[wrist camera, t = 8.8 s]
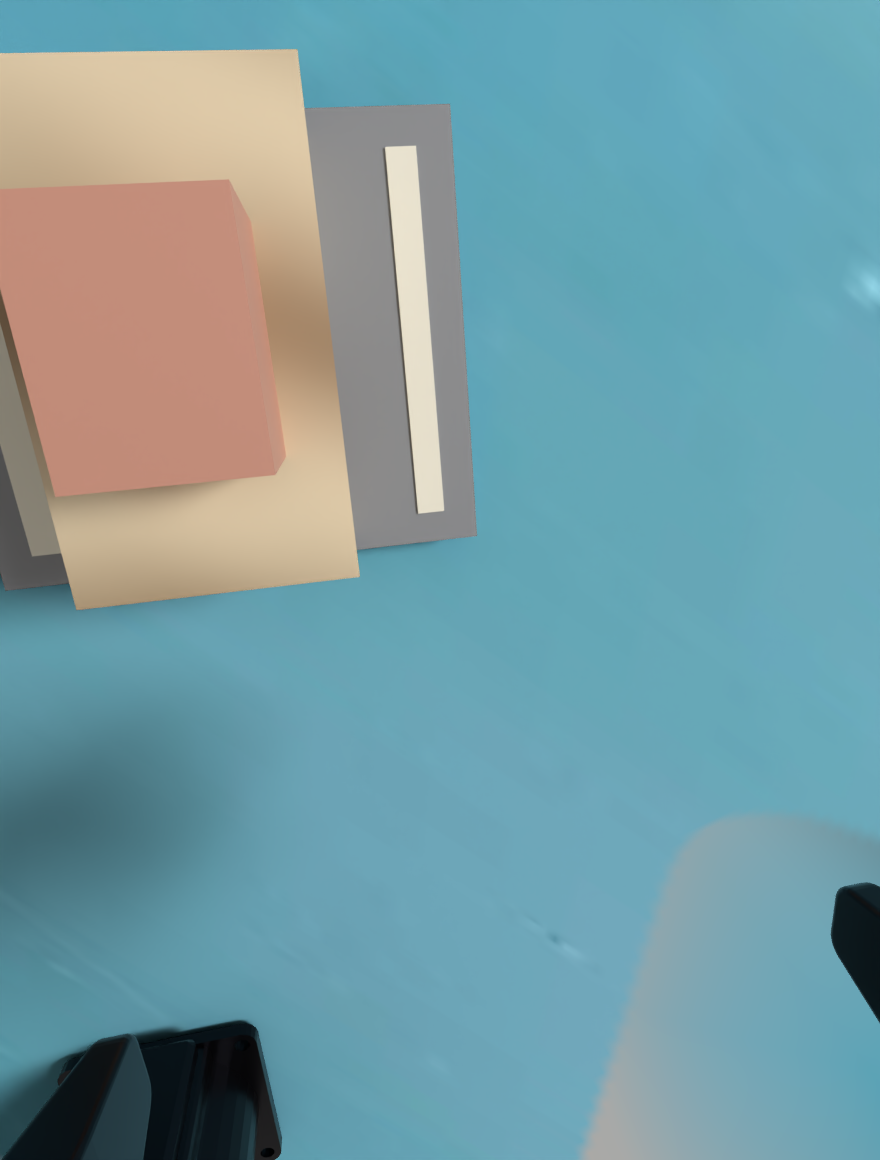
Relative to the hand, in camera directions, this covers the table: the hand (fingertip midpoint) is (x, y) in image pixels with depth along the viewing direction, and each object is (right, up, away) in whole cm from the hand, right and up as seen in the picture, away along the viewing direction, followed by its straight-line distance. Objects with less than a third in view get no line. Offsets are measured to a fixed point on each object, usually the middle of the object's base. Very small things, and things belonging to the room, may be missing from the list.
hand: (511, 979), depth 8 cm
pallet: (-6, +10, +7) cm, 14 cm away
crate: (-6, +9, +3) cm, 11 cm away
